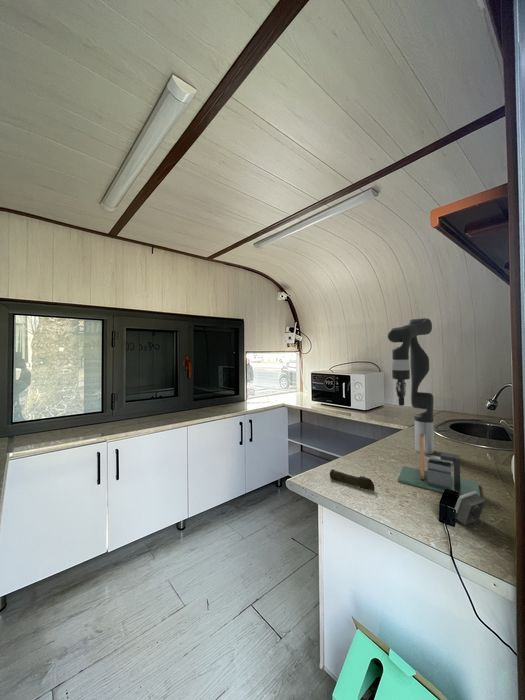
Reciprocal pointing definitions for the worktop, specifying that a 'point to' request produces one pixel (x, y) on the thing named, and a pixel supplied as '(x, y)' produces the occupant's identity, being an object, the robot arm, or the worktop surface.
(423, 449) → the upright wooden plank
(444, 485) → the base
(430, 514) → the worktop surface
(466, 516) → the electrical switch
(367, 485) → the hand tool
